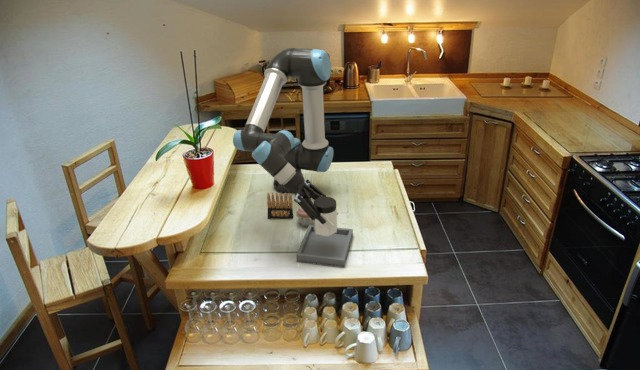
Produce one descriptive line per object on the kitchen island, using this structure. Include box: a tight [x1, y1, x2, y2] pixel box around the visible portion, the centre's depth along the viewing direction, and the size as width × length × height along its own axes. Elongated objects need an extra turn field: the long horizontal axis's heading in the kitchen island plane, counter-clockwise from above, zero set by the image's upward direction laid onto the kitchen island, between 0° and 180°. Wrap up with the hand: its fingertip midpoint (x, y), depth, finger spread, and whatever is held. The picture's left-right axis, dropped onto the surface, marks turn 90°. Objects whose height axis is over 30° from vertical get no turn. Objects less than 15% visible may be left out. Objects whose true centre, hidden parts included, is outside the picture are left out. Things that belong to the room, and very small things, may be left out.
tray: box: [295, 225, 354, 268], centre depth 172 cm, size 20×17×3 cm
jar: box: [313, 195, 338, 236], centre depth 166 cm, size 9×8×12 cm
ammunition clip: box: [266, 192, 294, 220], centre depth 190 cm, size 11×2×12 cm, turn 87°
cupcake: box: [295, 205, 314, 228], centre depth 186 cm, size 9×9×10 cm
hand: (334, 221), depth 166 cm, fingers closed on jar, 8 cm apart
